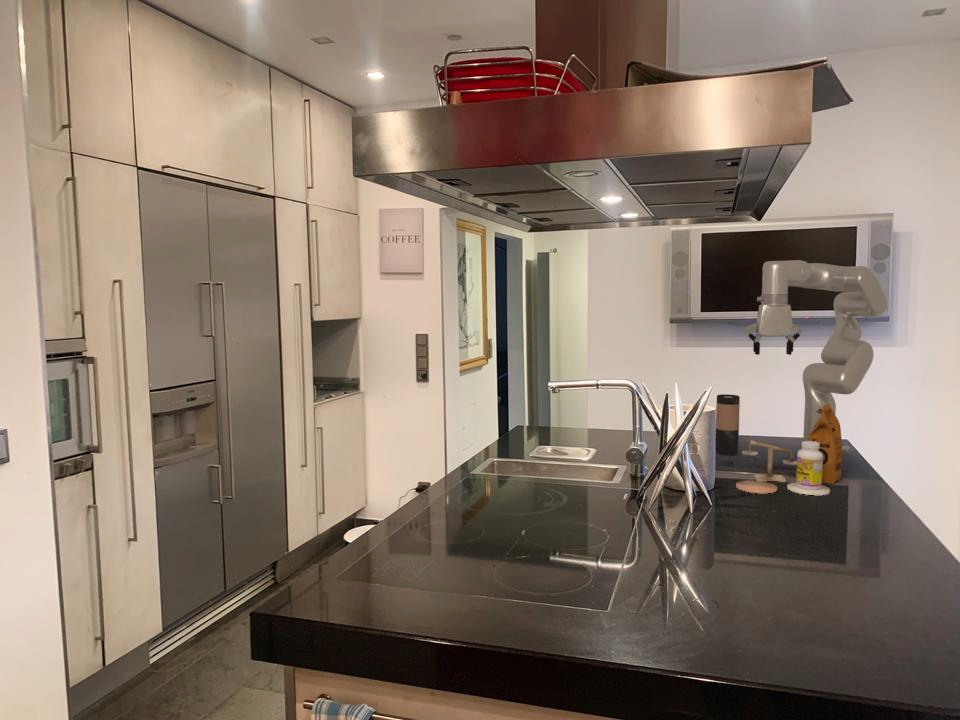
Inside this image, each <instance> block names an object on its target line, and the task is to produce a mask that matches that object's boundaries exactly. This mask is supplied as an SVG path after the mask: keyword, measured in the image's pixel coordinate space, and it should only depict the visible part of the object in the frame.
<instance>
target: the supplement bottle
mask: <svg viewBox="0 0 960 720" xmlns="http://www.w3.org/2000/svg"><path fill="white" fill-rule="evenodd" d="M800 447H801V449H802V450H800V451H799V452H798V451H797V455H796V461H797V465H796V475H795V476H796V477H795V482H796V485H797V486H798V487H799V488H802V489H807V490H817V489H820V488H821V486H822V484H823V483H822V469H823V454H822V453H821V452H819V448H820V443H818V442H813V441H802V442H801V446H800Z"/></svg>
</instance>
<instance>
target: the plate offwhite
mask: <svg viewBox="0 0 960 720" xmlns="http://www.w3.org/2000/svg"><path fill="white" fill-rule="evenodd" d="M786 489H787V490H788V491H789V490H790V491H789V492H791V491H792V493H794V492H795V493H794V494H797V493H798V495H802V494H805V495H804V496H808V495H814V496H813V497H820V496H821V497H823V495H824V496H828V495H830V492H831V489H830V488H829V487H827V486H825V485H822V486H821V488H820V489H817V490H807V489H802V488H799V487H798V486H797V485H796V481H794V482H790V483H789V482H788V483H787V486H786Z"/></svg>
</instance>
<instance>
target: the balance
mask: <svg viewBox="0 0 960 720" xmlns="http://www.w3.org/2000/svg"><path fill="white" fill-rule="evenodd" d="M753 445H754V446H759V447H761V448H767V470H766V471H767V473H766V474H757V473H755V474H753V478H754V479H755V481H762V482H767V481H779V482H778V483H786V478H785V477H784V476H783V475H782V474H773V469H774V468H773V466H774V465H773V464H774V462H773V461H774V450H775V451H780V452H784V453H788V454H789V455H787V459H783V460H782V464H784V465H787V466H797V459H795V457H796V456H795V455H793V450H792V449H789V448H785V447H780V446H776V445H771V444H766V443H763V442H758V441H754V440H750V441H749V449H745V450H742V451H741V454H742V455H744V456H751V457H753V456H758V455H759V454H758V453H759V452H758V451H755V450H751V449H752V446H753Z"/></svg>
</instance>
